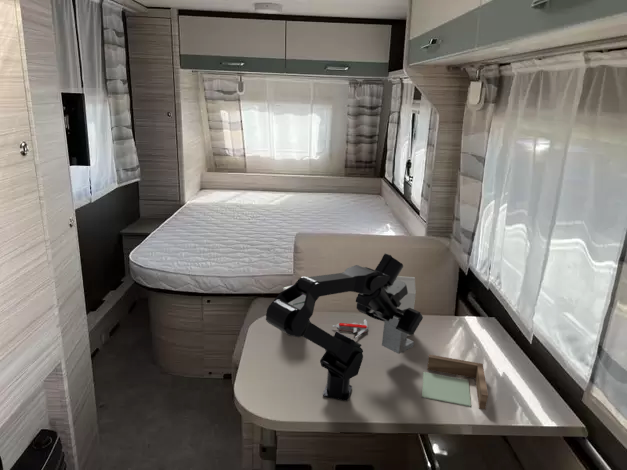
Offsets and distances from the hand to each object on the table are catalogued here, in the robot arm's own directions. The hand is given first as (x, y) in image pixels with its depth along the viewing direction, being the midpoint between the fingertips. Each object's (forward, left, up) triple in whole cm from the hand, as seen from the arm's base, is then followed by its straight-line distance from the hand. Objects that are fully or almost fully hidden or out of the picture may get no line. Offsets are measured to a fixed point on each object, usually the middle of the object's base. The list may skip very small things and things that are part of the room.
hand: (398, 325), depth 136 cm
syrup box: (+8, +33, -12) cm, 36 cm away
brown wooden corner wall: (-7, -16, -11) cm, 21 cm away
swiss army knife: (+15, +16, -12) cm, 25 cm away
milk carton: (+20, +1, -12) cm, 23 cm away
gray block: (0, 0, -7) cm, 7 cm away
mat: (-9, -14, -11) cm, 20 cm away
